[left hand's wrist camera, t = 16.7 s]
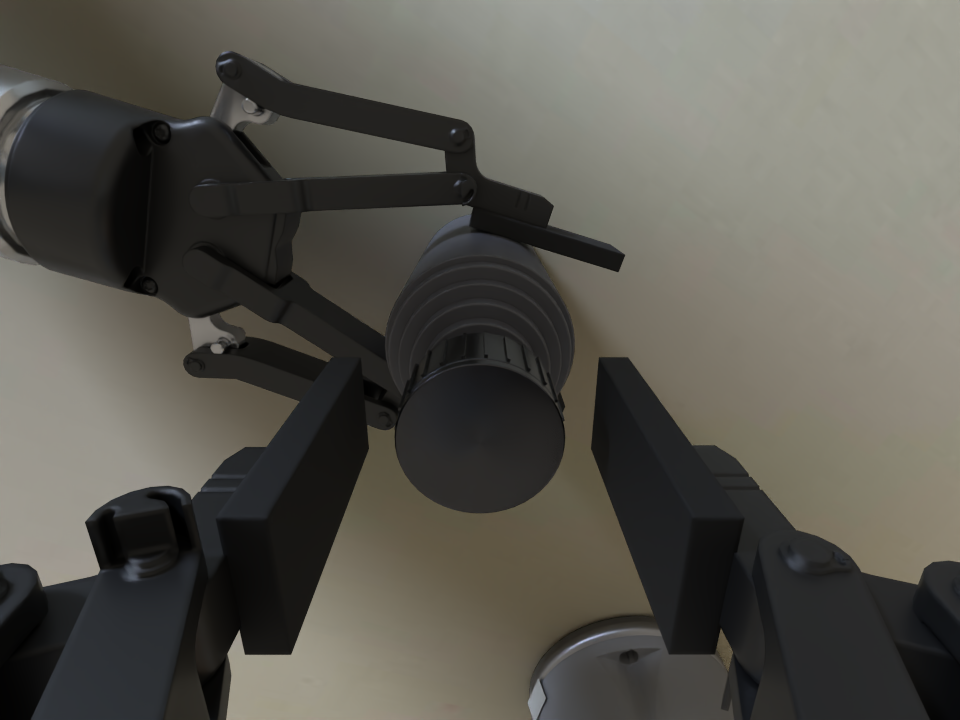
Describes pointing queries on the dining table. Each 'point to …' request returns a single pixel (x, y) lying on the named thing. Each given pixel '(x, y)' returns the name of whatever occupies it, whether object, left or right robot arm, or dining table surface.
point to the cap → (479, 424)
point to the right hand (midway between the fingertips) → (584, 332)
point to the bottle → (478, 301)
